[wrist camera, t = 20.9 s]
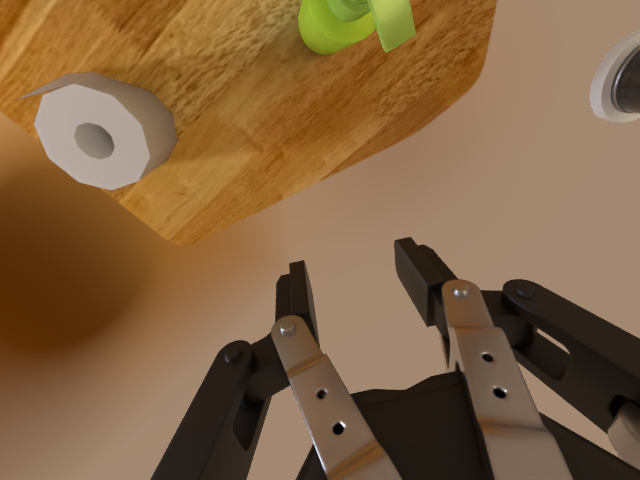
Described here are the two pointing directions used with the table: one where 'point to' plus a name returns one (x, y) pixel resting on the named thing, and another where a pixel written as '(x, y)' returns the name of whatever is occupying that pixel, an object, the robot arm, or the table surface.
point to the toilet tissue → (103, 129)
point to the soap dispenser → (354, 23)
